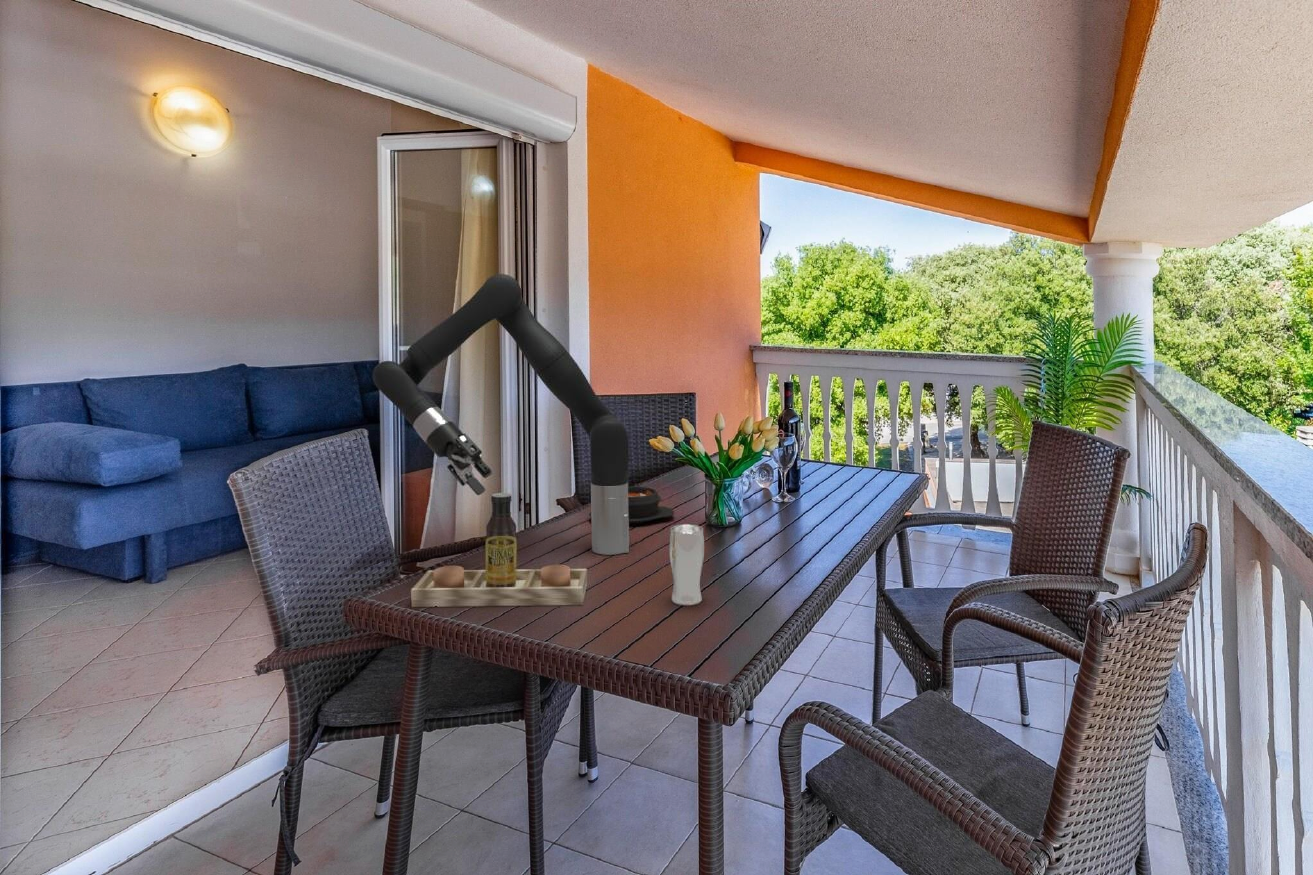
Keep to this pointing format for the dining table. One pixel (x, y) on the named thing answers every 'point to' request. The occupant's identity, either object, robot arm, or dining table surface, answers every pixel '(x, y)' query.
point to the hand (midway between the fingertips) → (485, 484)
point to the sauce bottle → (501, 544)
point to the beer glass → (686, 563)
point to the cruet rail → (500, 588)
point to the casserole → (645, 505)
